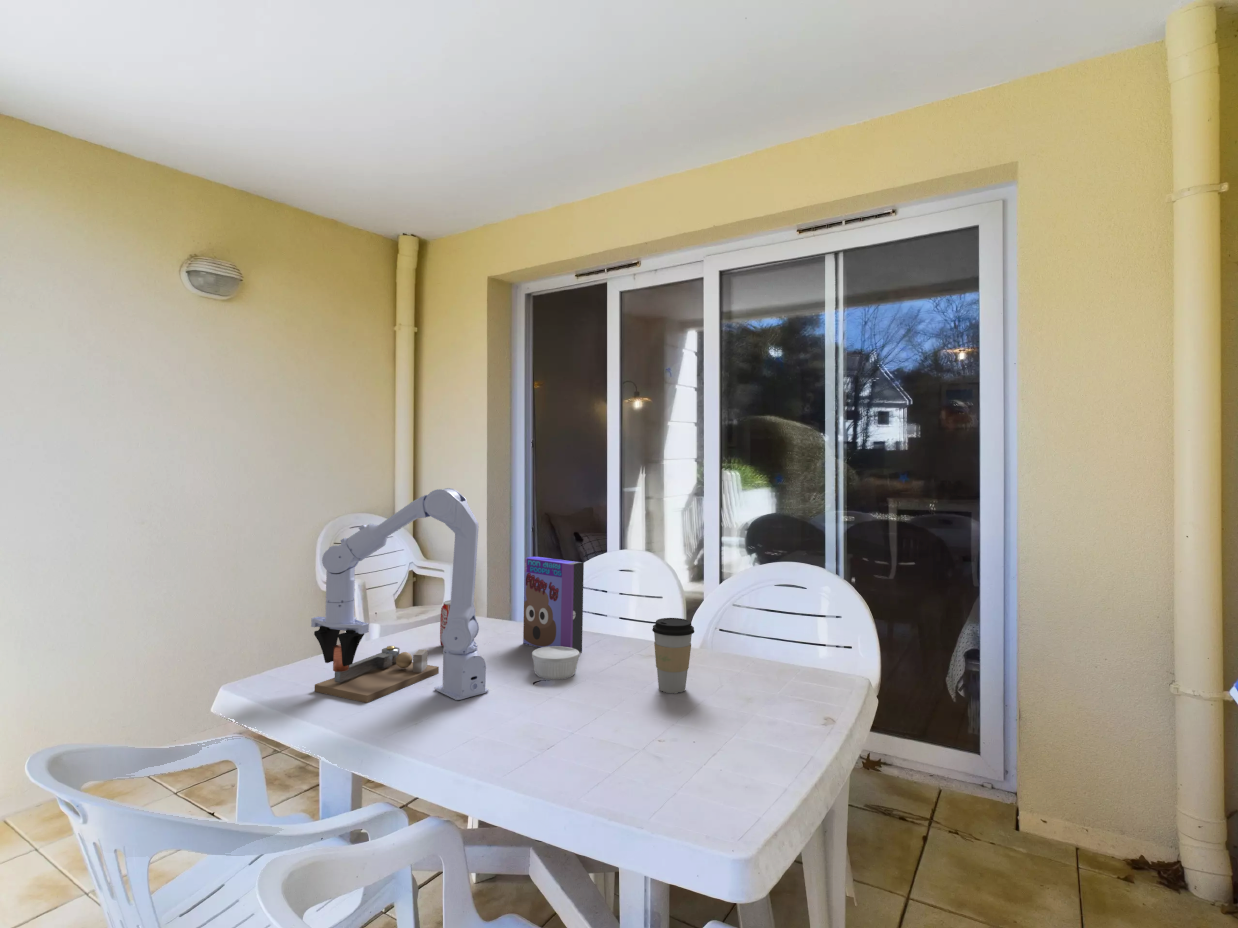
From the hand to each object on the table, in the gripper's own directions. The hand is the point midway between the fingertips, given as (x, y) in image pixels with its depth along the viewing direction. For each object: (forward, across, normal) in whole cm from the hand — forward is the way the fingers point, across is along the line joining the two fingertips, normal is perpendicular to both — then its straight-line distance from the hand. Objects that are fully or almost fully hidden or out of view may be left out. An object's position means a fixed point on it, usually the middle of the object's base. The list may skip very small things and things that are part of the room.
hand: (338, 663), depth 139 cm
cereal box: (+6, -25, -50) cm, 56 cm away
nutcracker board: (+6, -4, -8) cm, 11 cm away
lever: (+4, -1, -8) cm, 9 cm away
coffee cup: (+6, -65, -32) cm, 73 cm away
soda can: (+6, 0, -39) cm, 40 cm away
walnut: (+4, -6, -14) cm, 15 cm away
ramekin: (+6, -37, -30) cm, 48 cm away
